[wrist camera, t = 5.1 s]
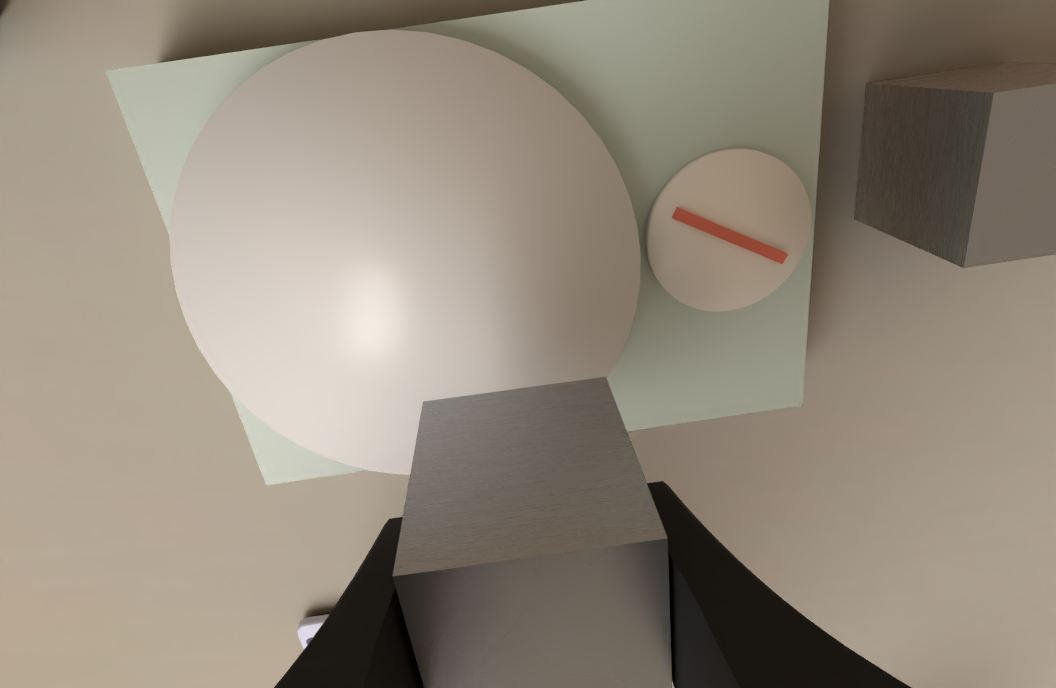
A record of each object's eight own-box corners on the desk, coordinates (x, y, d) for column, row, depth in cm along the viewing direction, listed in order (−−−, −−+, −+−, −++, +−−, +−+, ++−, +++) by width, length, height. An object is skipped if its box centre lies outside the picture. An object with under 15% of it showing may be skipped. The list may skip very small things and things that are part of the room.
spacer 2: (978, 200, 20) (1125, 243, 15) (853, 218, 20) (963, 267, 15) (1001, 62, 18) (1176, 65, 14) (865, 83, 18) (993, 92, 14)
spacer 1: (616, 520, 15) (673, 717, 11) (454, 542, 15) (441, 749, 11) (605, 376, 14) (667, 538, 9) (422, 401, 14) (392, 576, 9)
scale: (770, 370, 22) (814, 418, 19) (287, 442, 22) (258, 501, 19) (786, -25, 17) (850, -41, 14) (154, 68, 17) (85, 71, 14)
